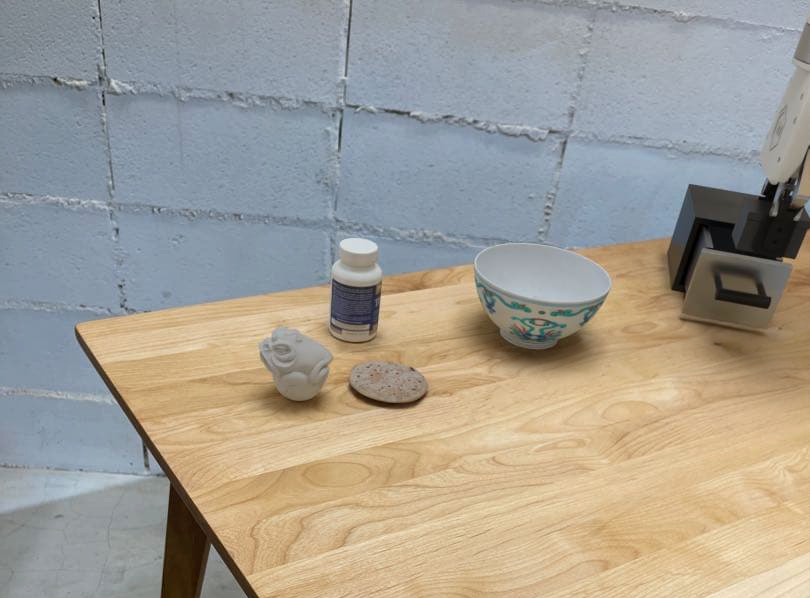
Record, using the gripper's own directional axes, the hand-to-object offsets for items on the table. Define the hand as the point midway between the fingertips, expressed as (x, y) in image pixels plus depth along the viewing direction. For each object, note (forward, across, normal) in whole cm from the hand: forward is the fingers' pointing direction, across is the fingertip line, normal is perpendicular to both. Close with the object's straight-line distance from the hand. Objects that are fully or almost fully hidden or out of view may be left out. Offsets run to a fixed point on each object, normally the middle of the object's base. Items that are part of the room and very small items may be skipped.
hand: (764, 243), depth 89 cm
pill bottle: (+13, +12, -42) cm, 45 cm away
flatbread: (+13, +22, -36) cm, 44 cm away
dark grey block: (0, 0, 0) cm, 0 cm away
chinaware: (+13, +5, -22) cm, 26 cm away
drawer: (+12, -10, +1) cm, 16 cm away
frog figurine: (+13, +27, -44) cm, 53 cm away
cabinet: (+13, -22, +1) cm, 26 cm away
